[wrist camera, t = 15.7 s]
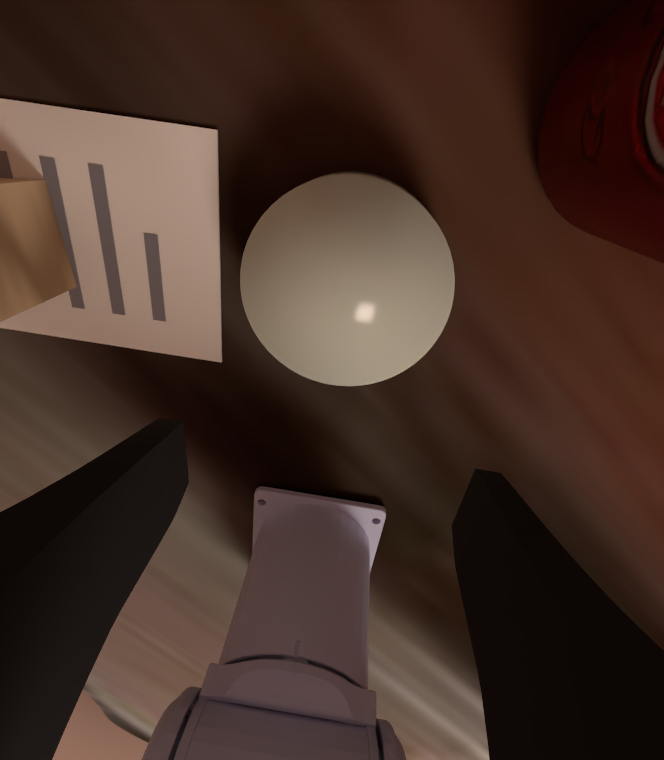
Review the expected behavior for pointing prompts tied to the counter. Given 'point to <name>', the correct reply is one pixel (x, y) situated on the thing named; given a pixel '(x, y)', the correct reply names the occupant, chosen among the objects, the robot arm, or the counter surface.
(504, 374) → the counter surface
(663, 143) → the soda can
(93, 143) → the letter
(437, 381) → the counter surface
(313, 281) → the puck
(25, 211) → the maple block
